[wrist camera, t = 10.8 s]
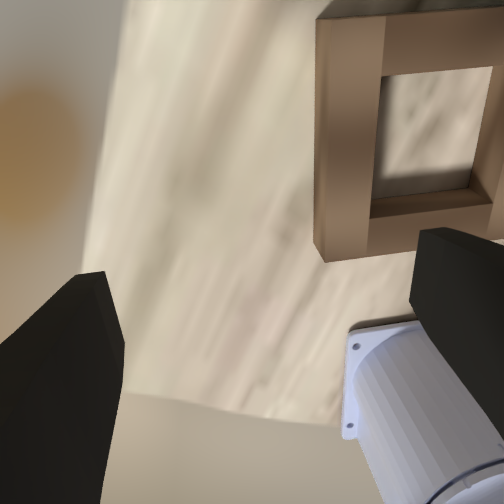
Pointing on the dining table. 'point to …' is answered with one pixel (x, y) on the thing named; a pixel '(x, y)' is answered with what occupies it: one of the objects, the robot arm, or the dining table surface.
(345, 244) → the socket block
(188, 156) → the dining table surface
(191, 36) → the dining table surface
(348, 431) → the robot arm
